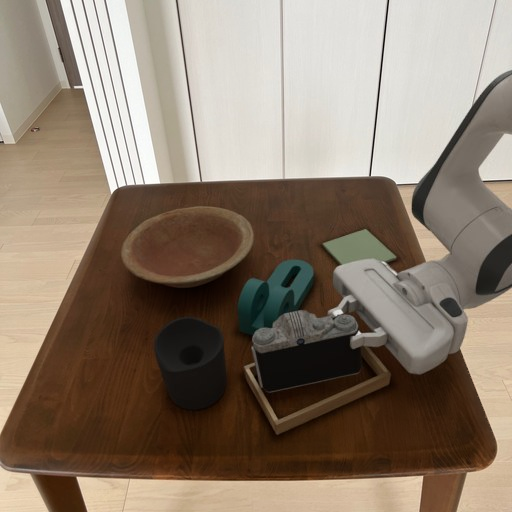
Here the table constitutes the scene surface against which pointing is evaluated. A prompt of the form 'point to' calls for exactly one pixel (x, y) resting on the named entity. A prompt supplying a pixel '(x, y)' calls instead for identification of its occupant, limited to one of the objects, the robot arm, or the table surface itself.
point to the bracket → (273, 296)
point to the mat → (358, 248)
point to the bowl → (187, 246)
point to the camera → (305, 350)
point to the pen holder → (191, 362)
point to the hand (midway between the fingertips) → (339, 330)
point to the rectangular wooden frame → (324, 405)
